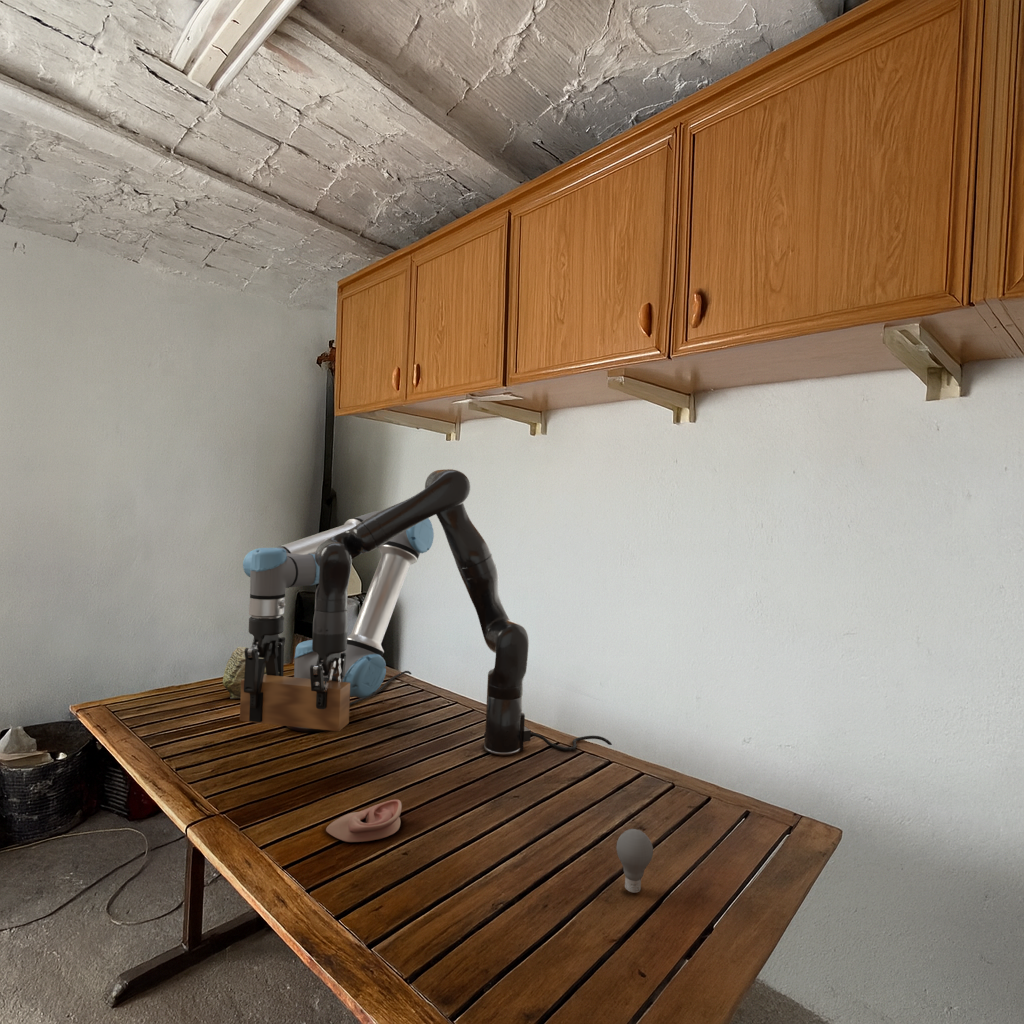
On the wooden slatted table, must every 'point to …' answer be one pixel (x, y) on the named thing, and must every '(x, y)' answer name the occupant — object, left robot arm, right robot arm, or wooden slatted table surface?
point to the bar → (299, 703)
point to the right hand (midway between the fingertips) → (327, 703)
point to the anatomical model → (368, 823)
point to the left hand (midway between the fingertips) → (263, 716)
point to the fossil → (235, 672)
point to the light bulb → (634, 857)
